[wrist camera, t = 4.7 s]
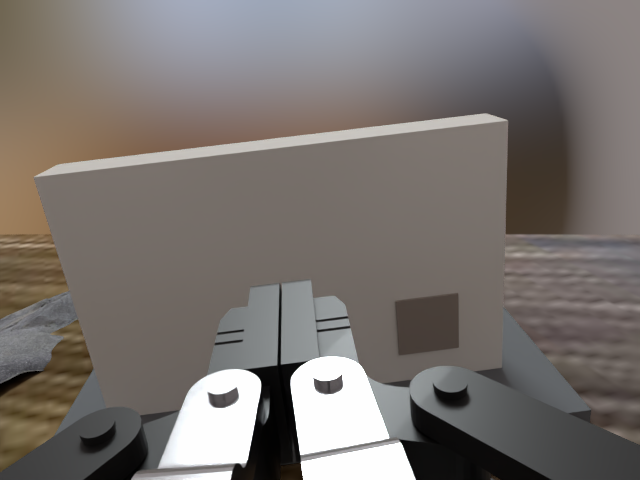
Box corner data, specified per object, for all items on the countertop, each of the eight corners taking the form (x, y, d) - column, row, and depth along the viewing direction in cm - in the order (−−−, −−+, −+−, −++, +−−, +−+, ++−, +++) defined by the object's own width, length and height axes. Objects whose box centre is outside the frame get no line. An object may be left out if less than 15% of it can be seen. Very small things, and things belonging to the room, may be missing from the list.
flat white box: (109, 420, 20) (32, 178, 17) (125, 386, 22) (59, 163, 19) (502, 369, 21) (509, 120, 17) (483, 340, 23) (484, 113, 19)
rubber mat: (29, 498, 18) (24, 485, 18) (141, 300, 32) (139, 291, 32) (589, 423, 18) (590, 410, 18) (456, 260, 32) (456, 252, 32)
